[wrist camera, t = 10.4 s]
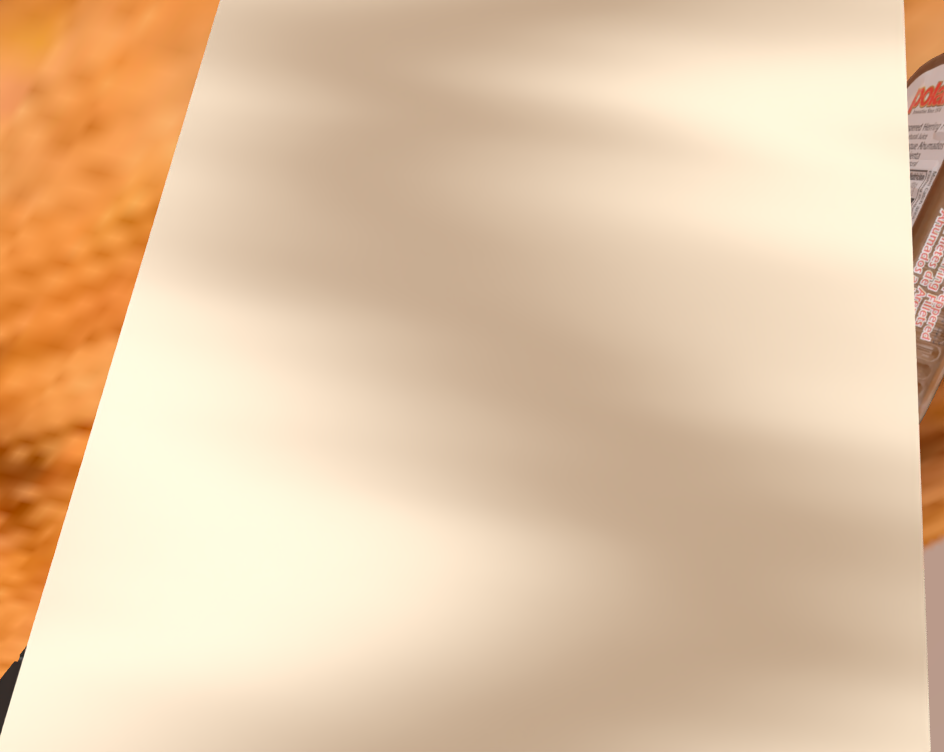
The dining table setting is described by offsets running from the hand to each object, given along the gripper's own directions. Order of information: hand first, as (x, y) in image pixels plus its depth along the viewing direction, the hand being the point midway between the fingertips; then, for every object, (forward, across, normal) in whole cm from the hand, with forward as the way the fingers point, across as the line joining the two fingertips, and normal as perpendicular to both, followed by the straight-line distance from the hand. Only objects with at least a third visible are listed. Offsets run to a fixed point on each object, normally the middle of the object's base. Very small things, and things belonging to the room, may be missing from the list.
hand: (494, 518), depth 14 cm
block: (0, 0, -5) cm, 5 cm away
